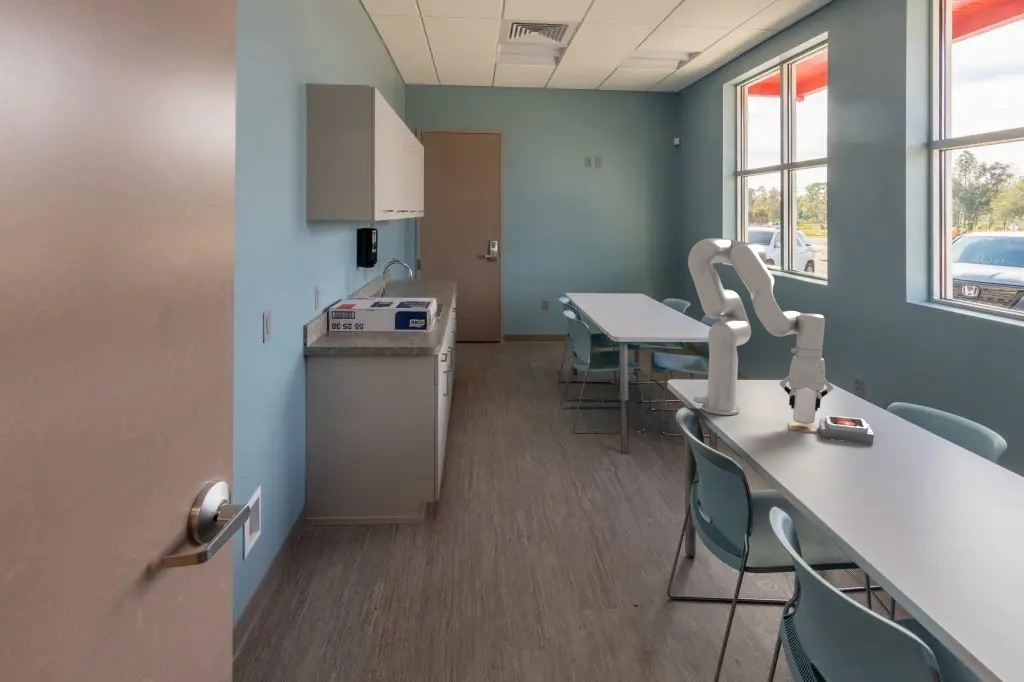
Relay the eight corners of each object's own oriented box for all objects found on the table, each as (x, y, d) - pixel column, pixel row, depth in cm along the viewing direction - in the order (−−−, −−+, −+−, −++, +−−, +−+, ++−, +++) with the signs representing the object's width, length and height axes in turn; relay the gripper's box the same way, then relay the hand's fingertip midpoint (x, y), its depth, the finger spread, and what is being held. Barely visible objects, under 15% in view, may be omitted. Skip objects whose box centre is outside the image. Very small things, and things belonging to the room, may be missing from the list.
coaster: (788, 430, 210) (789, 428, 210) (788, 423, 217) (788, 421, 217) (816, 433, 207) (816, 431, 207) (815, 426, 214) (815, 424, 214)
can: (810, 418, 214) (813, 382, 212) (817, 424, 208) (820, 386, 206) (789, 417, 215) (792, 381, 213) (796, 423, 209) (799, 386, 206)
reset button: (837, 433, 203) (838, 424, 203) (835, 429, 208) (836, 420, 207) (854, 435, 202) (855, 426, 201) (853, 431, 206) (854, 422, 206)
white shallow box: (821, 438, 202) (822, 424, 201) (818, 427, 213) (820, 414, 212) (872, 444, 197) (874, 429, 196) (868, 432, 208) (869, 419, 207)
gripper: (779, 353, 208) (774, 408, 211) (840, 357, 201) (835, 414, 204) (779, 349, 214) (774, 403, 217) (838, 353, 208) (833, 408, 211)
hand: (804, 408), depth 211 cm, fingers closed on can, 6 cm apart
